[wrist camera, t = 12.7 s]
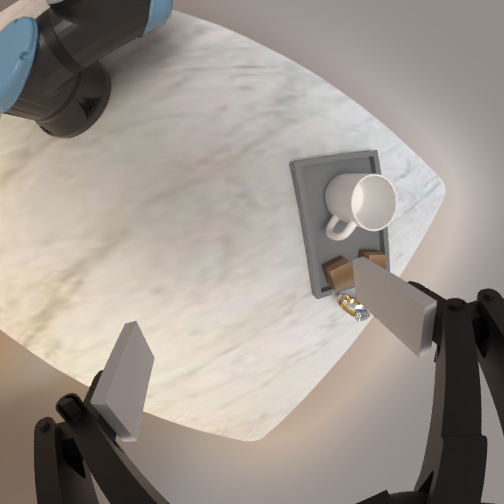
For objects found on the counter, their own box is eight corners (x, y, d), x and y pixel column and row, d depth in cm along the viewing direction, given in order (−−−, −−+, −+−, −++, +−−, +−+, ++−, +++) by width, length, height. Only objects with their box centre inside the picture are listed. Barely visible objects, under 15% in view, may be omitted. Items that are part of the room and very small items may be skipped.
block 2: (358, 249, 49) (369, 255, 45) (375, 249, 49) (387, 255, 46) (355, 269, 50) (365, 276, 46) (372, 269, 50) (383, 276, 47)
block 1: (321, 264, 48) (329, 271, 45) (340, 255, 49) (350, 261, 45) (327, 283, 50) (335, 291, 46) (345, 274, 50) (355, 281, 46)
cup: (372, 194, 46) (405, 199, 37) (334, 246, 48) (362, 262, 38) (341, 163, 44) (372, 161, 35) (300, 217, 46) (324, 228, 36)
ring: (328, 298, 51) (346, 317, 44) (336, 284, 51) (355, 301, 43) (354, 309, 53) (373, 327, 45) (361, 295, 52) (382, 312, 45)
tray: (289, 162, 44) (293, 161, 41) (369, 150, 45) (377, 150, 43) (312, 293, 51) (317, 299, 48) (383, 271, 52) (389, 275, 49)
